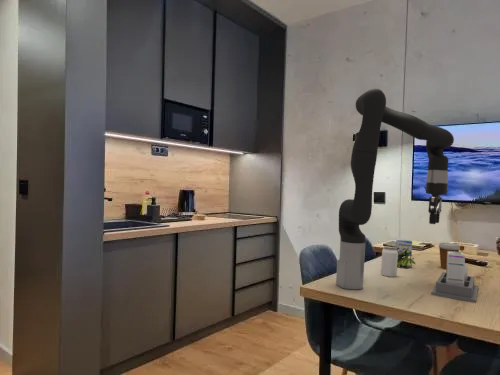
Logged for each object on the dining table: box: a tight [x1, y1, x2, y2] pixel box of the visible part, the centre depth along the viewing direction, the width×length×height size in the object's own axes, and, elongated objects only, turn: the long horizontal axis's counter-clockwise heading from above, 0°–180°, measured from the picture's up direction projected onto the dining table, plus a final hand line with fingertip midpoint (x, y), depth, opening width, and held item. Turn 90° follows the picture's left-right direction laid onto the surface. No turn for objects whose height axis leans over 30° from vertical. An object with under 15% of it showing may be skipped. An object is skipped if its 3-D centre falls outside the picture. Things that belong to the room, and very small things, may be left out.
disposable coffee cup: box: [438, 242, 461, 270], centre depth 187 cm, size 10×10×12 cm
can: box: [380, 246, 398, 278], centre depth 166 cm, size 6×6×12 cm
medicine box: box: [395, 239, 413, 257], centre depth 219 cm, size 8×4×9 cm, turn 81°
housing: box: [430, 262, 479, 304], centre depth 145 cm, size 24×14×12 cm, turn 147°
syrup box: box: [445, 251, 466, 286], centre depth 141 cm, size 6×6×14 cm
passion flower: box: [395, 247, 416, 269], centre depth 187 cm, size 11×11×12 cm
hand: (434, 223), depth 149 cm, fingers open, 8 cm apart
